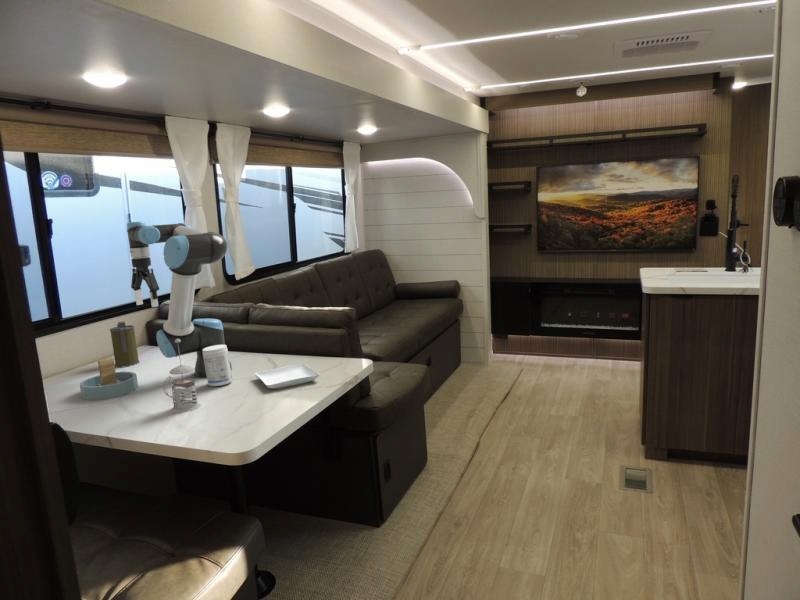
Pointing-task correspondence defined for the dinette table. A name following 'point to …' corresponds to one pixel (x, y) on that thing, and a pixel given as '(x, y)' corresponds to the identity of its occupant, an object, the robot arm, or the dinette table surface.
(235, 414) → the dinette table surface
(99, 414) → the dinette table surface
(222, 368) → the supplement tub
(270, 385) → the salad plate
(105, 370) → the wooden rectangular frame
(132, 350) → the canister
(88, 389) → the shallow blue tray
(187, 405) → the french press
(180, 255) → the robot arm
